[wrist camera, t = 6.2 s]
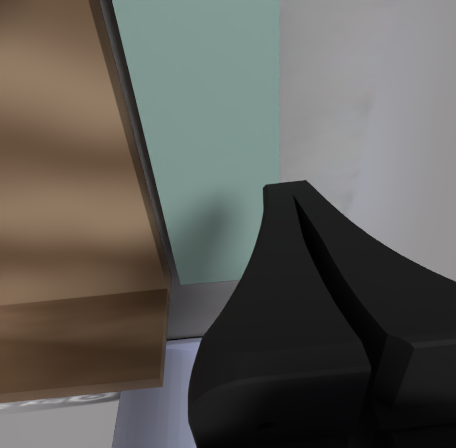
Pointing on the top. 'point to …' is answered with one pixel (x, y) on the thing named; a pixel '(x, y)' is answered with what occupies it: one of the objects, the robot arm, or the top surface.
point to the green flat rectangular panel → (207, 122)
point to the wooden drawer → (73, 214)
